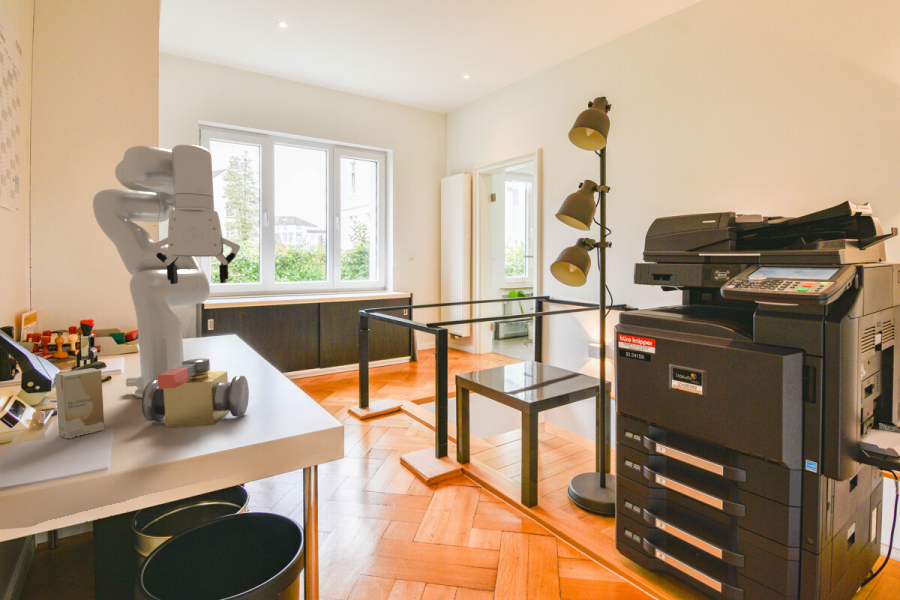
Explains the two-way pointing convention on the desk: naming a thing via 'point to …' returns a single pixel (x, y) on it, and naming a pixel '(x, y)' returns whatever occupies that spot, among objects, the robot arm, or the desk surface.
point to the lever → (182, 373)
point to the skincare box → (79, 402)
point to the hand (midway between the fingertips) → (199, 283)
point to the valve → (196, 400)
